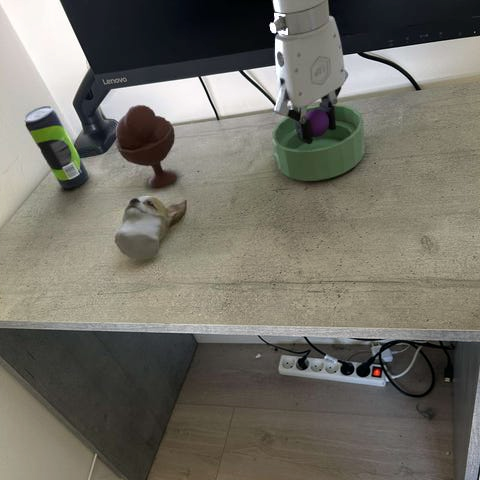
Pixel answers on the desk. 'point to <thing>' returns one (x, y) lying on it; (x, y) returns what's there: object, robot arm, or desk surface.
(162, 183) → the ice cream bowl
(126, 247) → the ceramic sculpture
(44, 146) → the beverage can
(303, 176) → the green bowl
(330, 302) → the desk surface
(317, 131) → the ball
